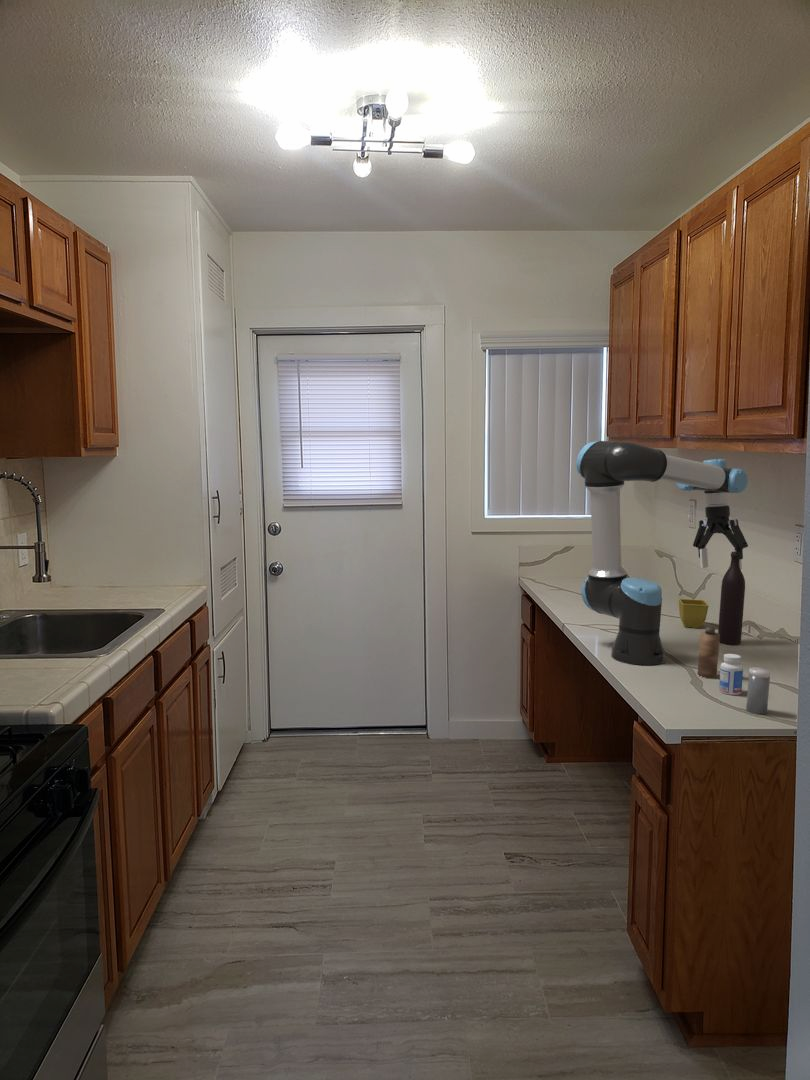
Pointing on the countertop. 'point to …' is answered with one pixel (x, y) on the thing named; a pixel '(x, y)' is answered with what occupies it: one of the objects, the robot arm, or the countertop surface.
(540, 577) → the countertop surface
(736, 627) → the wine bottle
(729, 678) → the pill bottle
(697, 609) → the flower pot
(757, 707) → the charcoal salt shaker
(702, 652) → the walnut pepper mill
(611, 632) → the countertop surface
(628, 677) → the countertop surface
